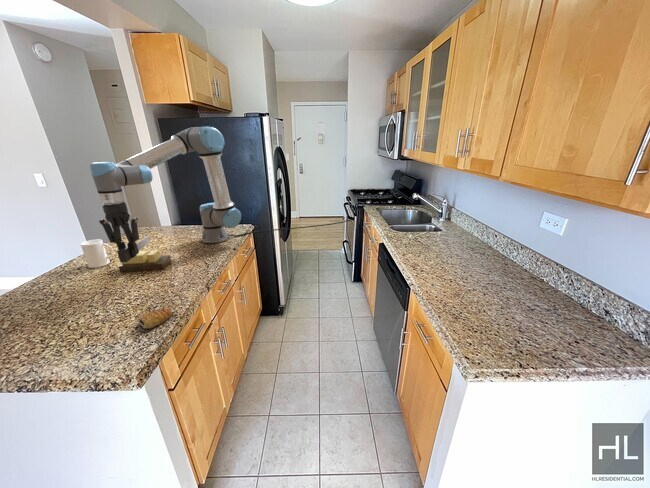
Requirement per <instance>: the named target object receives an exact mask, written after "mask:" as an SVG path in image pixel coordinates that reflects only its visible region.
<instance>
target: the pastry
mask: <svg viewBox="0 0 650 488" xmlns="http://www.w3.org/2000/svg"><path fill="white" fill-rule="evenodd" d="M172 315H173V313H172V310H171V309H170V308H159V309H155V310H150V311H148V312H145V313H143V315H140V316H139V317H138V323H139V325H140V327H142V328H143V329H147V330H148V329H152V328H155V327H157V326H159V325H161V324H162V323H164V322H166V321H167V320H169V319H170V317H171V316H172Z"/></svg>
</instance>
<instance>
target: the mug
mask: <svg viewBox="0 0 650 488" xmlns="http://www.w3.org/2000/svg"><path fill="white" fill-rule="evenodd" d="M106 247H108V248H109V249H110V250H111V254H109V255H108V254H107V251H106ZM80 248H81V250H82V252H83V255H84V259H85V260H86V264H87V268H90V269H96V268H101V267H103V266H107V265H109V264H110V263H111V261H110V258H111V257H112V256H113V255H114V249H113V247H112V246H111V245H110V244H107V243H105V242H103V239H101V238H100V239H99V238H94V239H89V240H85V241H82V242H80Z"/></svg>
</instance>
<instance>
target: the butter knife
mask: <svg viewBox="0 0 650 488" xmlns="http://www.w3.org/2000/svg"><path fill="white" fill-rule="evenodd" d="M150 242H151V240H150V236H149V235H146V236H144V237H143V238H142V239H141V240H139V241H135V244H136V249H135V252H136V255H137V254H138V253H139V251H142V249H144V248H145V247H146V246H148V245H149V244H150ZM116 253H117V256H118V259H119V262H120V263H121V262H128V261H129V260H130V259H132V258H131V255H130V251H129V248H128V245H127V244H125V246H124V247H123V248H121V249H120V250H118V249H117V251H116Z"/></svg>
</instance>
